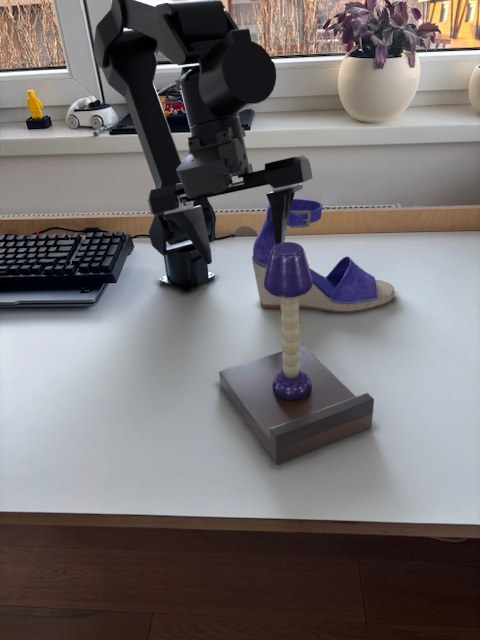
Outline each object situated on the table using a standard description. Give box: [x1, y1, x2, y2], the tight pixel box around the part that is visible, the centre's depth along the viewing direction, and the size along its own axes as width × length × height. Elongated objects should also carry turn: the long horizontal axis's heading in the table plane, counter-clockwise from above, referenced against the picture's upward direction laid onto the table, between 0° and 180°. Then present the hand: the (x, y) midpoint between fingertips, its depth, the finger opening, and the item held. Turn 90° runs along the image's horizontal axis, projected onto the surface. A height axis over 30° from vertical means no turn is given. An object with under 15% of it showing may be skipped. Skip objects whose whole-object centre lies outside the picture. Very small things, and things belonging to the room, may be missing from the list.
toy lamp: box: [264, 241, 313, 400], centre depth 54 cm, size 5×5×17 cm
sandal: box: [251, 198, 395, 313], centre depth 74 cm, size 8×20×15 cm, turn 84°
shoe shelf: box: [218, 344, 375, 466], centre depth 58 cm, size 14×11×4 cm
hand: (244, 257), depth 65 cm, fingers open, 9 cm apart
